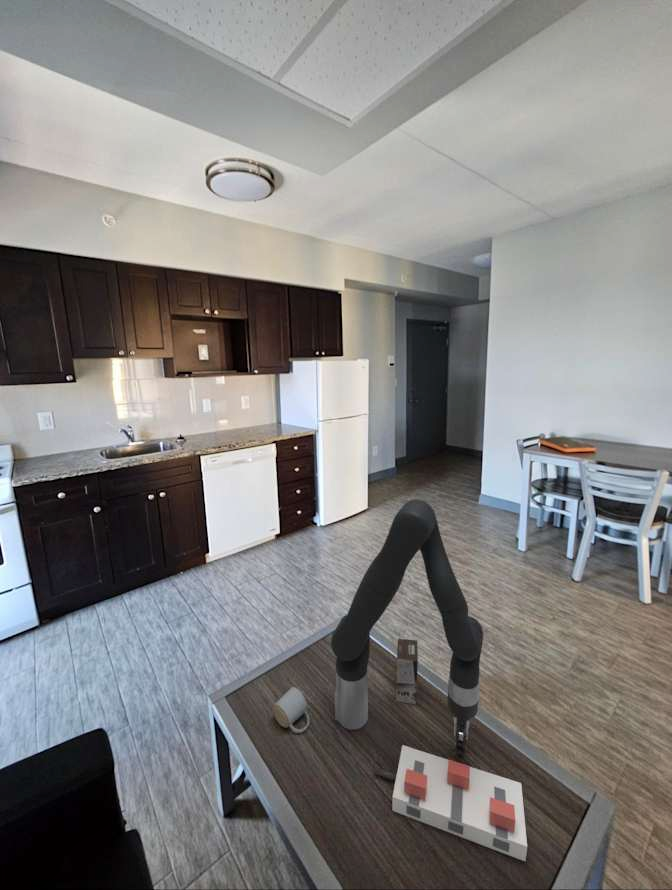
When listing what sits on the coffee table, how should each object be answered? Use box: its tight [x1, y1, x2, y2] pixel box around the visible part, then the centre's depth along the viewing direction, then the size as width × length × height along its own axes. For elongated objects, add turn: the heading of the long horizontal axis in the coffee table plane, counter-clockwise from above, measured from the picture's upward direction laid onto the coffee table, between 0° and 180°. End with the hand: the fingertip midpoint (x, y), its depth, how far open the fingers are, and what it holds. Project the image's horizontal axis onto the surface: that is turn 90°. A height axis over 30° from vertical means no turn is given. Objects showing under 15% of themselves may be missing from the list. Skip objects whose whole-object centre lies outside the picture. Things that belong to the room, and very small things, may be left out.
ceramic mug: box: [272, 686, 310, 734], centre depth 115 cm, size 11×8×8 cm
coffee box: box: [396, 638, 419, 705], centre depth 123 cm, size 9×6×16 cm
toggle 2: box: [447, 759, 471, 790], centre depth 94 cm, size 5×3×4 cm, turn 70°
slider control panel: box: [373, 744, 528, 862], centre depth 94 cm, size 35×13×5 cm, turn 70°
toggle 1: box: [404, 769, 427, 800], centre depth 92 cm, size 5×3×4 cm, turn 70°
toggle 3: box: [489, 797, 515, 832], centre depth 85 cm, size 5×3×4 cm, turn 70°
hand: (460, 741), depth 102 cm, fingers open, 8 cm apart
